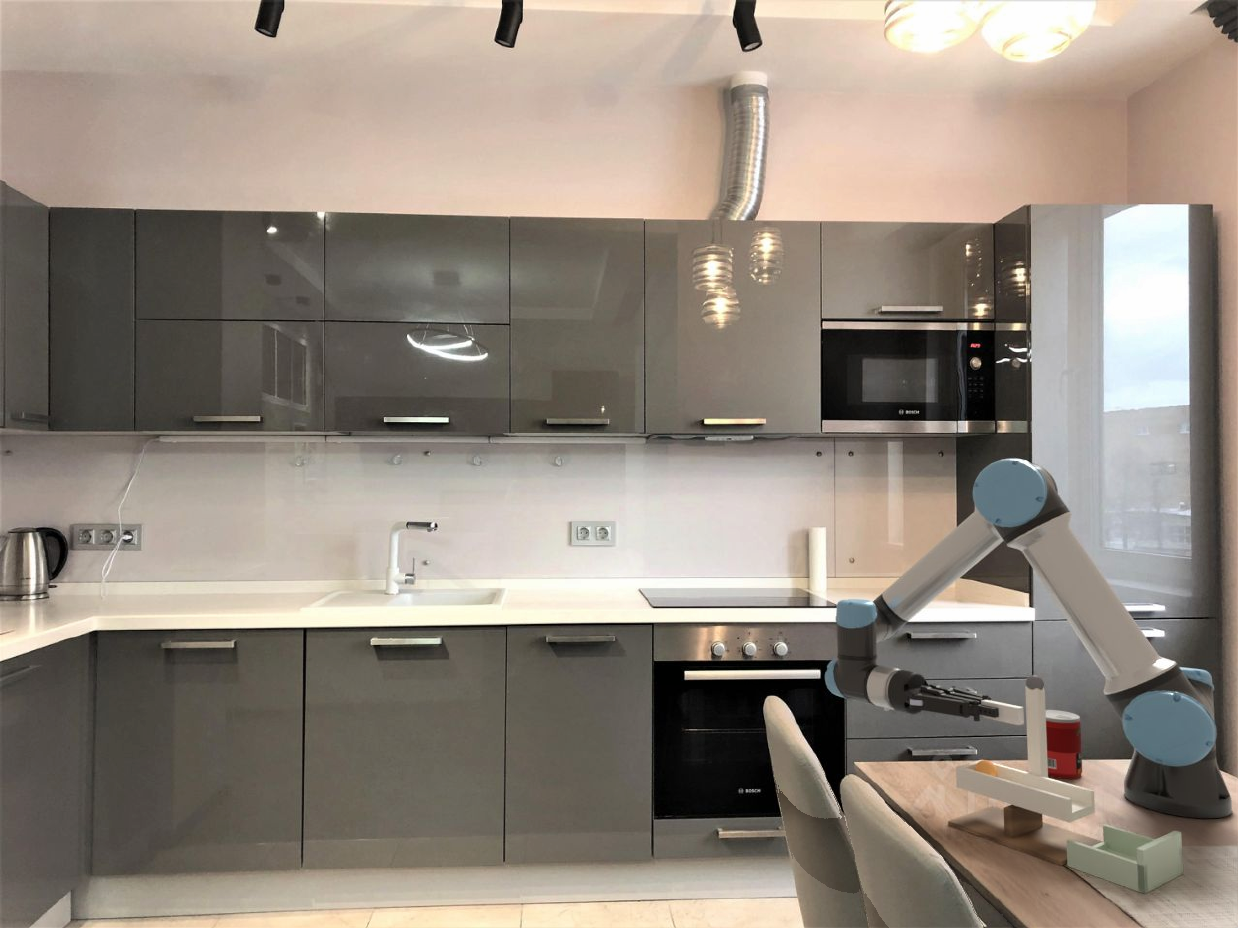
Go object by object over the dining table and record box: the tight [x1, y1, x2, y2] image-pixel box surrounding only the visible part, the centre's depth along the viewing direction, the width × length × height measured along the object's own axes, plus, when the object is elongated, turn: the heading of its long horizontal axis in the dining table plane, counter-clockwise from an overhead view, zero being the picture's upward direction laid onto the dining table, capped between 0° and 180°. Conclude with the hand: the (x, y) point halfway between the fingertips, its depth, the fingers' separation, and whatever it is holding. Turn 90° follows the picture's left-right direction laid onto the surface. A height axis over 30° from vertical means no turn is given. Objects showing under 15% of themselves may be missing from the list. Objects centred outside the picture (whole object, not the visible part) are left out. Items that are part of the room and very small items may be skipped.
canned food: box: [1045, 709, 1083, 780], centre depth 154 cm, size 8×8×11 cm
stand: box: [947, 804, 1104, 867], centre depth 124 cm, size 18×12×5 cm, turn 33°
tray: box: [1066, 823, 1184, 895], centre depth 112 cm, size 10×11×6 cm
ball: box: [975, 759, 997, 777], centre depth 130 cm, size 3×3×3 cm
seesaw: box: [955, 674, 1096, 823], centre depth 126 cm, size 18×9×18 cm, turn 33°
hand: (1021, 716), depth 129 cm, fingers closed
